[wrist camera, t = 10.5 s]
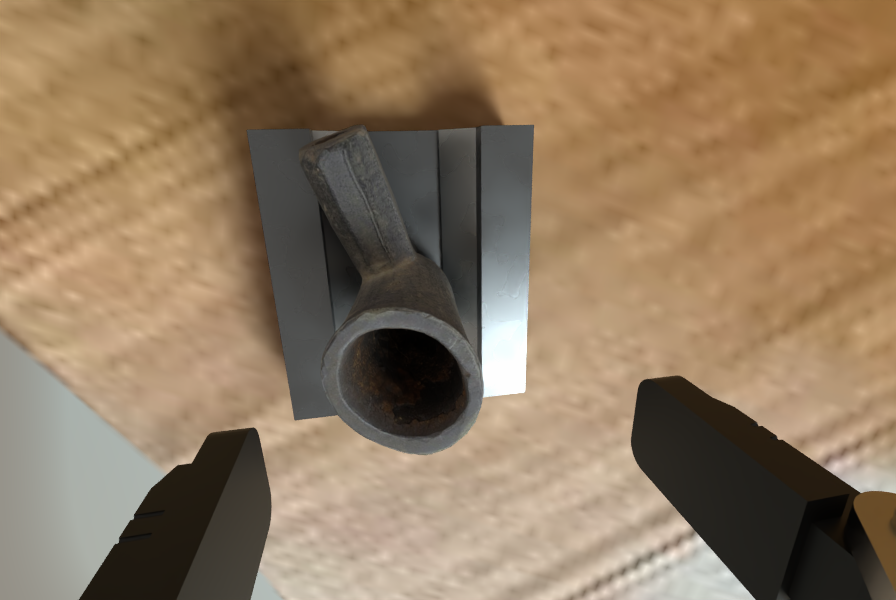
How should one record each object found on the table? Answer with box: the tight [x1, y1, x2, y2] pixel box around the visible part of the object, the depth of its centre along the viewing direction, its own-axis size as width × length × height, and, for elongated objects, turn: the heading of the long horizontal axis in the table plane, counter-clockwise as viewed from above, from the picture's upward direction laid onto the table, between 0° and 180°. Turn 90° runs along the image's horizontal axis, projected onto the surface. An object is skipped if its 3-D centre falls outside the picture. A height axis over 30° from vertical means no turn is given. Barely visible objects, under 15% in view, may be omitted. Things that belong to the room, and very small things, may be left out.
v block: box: [247, 125, 534, 420], centre depth 23 cm, size 14×12×4 cm
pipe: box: [299, 125, 484, 455], centre depth 18 cm, size 6×13×8 cm, turn 20°
